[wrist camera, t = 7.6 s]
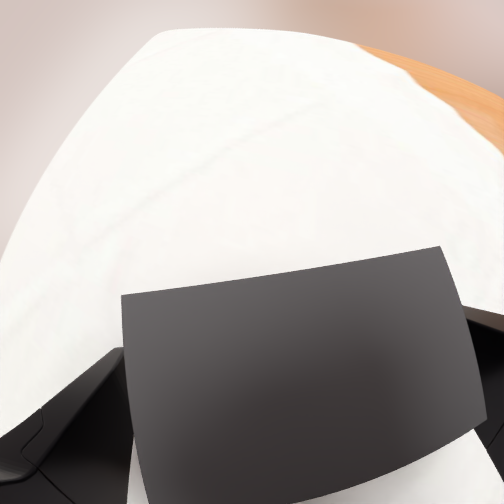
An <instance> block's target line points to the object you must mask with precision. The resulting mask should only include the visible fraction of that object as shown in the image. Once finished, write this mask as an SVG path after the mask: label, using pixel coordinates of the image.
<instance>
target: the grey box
mask: <svg viewBox="0 0 504 504" xmlns="http://www.w3.org/2000/svg"><path fill="white" fill-rule="evenodd" d="M121 305H122V330H123V346H124V359H125V370H126V380H127V389H128V397H129V405H130V412H131V419H132V425H133V432H134V437H135V443H136V448H137V454H138V459H139V464H140V468H141V473H142V477H143V482H144V486H145V490H146V494H147V498H148V502H149V504H293V503H297V502H301V501H305V500H309V499H313V498H317V497H321V496H324V495H328V494H331V493H335V492H338V491H341V490H344V489H347V488H350V487H353V486H356V485H359V484H362V483H365V482H367V481H370V480H373V479H375V478H378V477H380V476H383V475H385V474H388V473H390V472H392V471H395V470H397V469H399V468H401V467H404V466H406V465H408V464H410V463H412V462H414V461H416V460H418V459H420V458H422V457H424V456H426V455H428V454H430V453H432V452H434V451H436V450H438V449H440V448H442V447H443V446H445V445H447V444H449V443H450V442H452V441H454V440H456V439H457V438H459V437H461V436H462V435H464V434H465V433H467V432H469V431H470V430H472V429H473V428H475V427H476V426H478V425H479V424H481V423H482V422H484V421H485V420H487V414H486V407H485V400H484V394H483V388H482V383H481V378H480V373H479V368H478V364H477V359H476V355H475V351H474V347H473V343H472V339H471V335H470V331H469V328H468V324H467V321H466V317H465V314H464V311H463V308H462V304H461V301H460V298H459V295H458V292H457V289H456V286H455V284H454V281H453V278H452V275H451V273H450V270H449V267H448V265H447V262H446V259H445V257H444V254H443V252H442V250H441V247H440V246H437V247H432V248H426V249H421V250H416V251H410V252H405V253H399V254H394V255H388V256H382V257H377V258H371V259H365V260H359V261H353V262H348V263H342V264H336V265H329V266H323V267H317V268H311V269H305V270H298V271H292V272H286V273H279V274H273V275H266V276H259V277H253V278H246V279H239V280H232V281H225V282H218V283H211V284H204V285H197V286H189V287H182V288H174V289H167V290H159V291H151V292H143V293H135V294H127V295H121Z"/></svg>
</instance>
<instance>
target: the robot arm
mask: <svg viewBox="0 0 504 504" xmlns="http://www.w3.org/2000/svg"><path fill="white" fill-rule="evenodd" d="M462 308H463V311H464V314H465V317H466V321H467V324H468V328H469V331H470V335H471V339H472V343H473V347H474V351H475V355H476V359H477V364H478V368H479V373H480V378H481V383H482V388H483V394H484V400H485V407H486V414H487V420H485V421H484V422H482V423H481V424H479V425H478V426H476V427H475V428H473V429H474V430H475V432H476V433H477V435H478V437H479V439H480V440H481V442H482V444H483V445H484V447H485V449H487V450H486V451H487V453H488V454H489V456H490V458H491V460H492V461H493V463H494V465H495V467H496V469H497V471H498V472H499V474H500V476H501V478H502V480H503V482H504V315H501V314H497V313H493V312H488V311H484V310H480V309H476V308H471V307H467V306H463V305H462ZM133 437H134V432H133V425H132V419H131V412H130V405H129V397H128V389H127V380H126V370H125V359H124V347H117V348H114V349H113V350H111V351H110V352H109V353H108V354H106V355H105V356H104V357H103V358H101V359H100V360H99V361H98V362H96V363H95V364H94V365H93V366H91V367H90V368H89V369H88V370H86V371H85V372H84V373H83V374H81V375H80V376H79V377H78V378H76V379H75V380H74V381H73V382H71V383H70V384H69V385H68V386H67V387H65V388H64V389H63V390H62V391H60V392H59V393H58V394H57V395H55V396H54V397H53V398H52V399H51V400H49V401H48V402H47V403H46V404H44V405H43V406H42V407H41V409H38V410H37V411H36V412H35V413H33V414H32V415H31V416H30V417H28V418H27V419H26V420H24V421H23V422H22V423H21V424H19V425H18V426H16V427H15V428H14V429H12V430H11V431H9V432H8V433H7V434H5V435H4V436H2V437H1V438H0V504H127V494H128V482H129V472H130V462H131V453H132V445H133Z"/></svg>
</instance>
